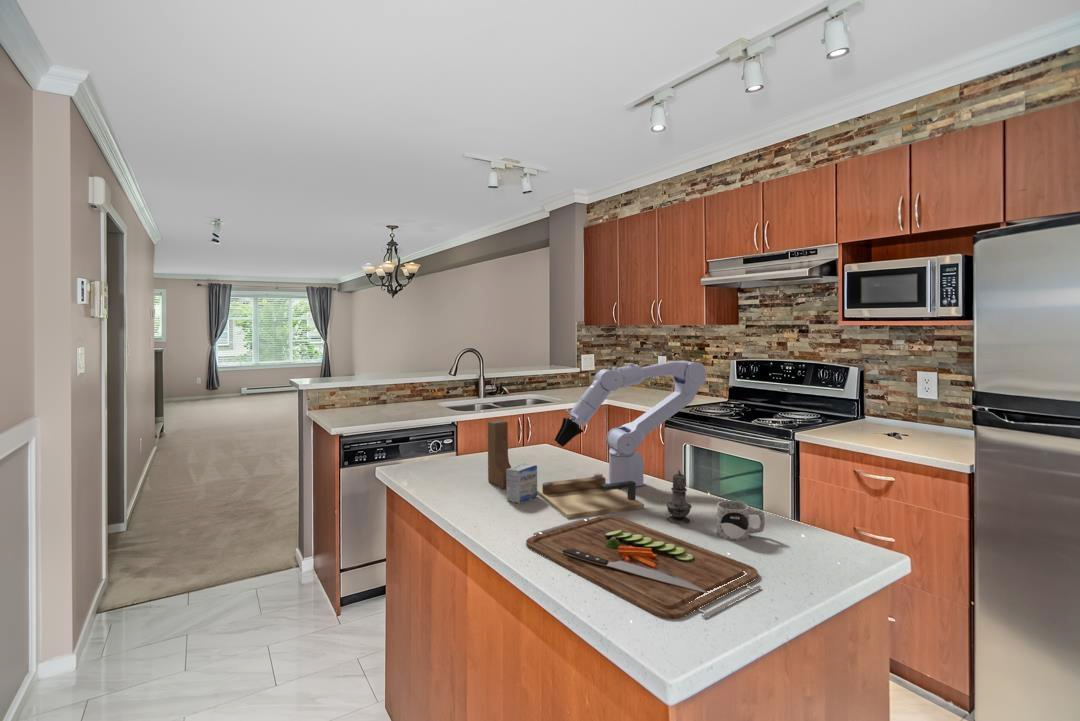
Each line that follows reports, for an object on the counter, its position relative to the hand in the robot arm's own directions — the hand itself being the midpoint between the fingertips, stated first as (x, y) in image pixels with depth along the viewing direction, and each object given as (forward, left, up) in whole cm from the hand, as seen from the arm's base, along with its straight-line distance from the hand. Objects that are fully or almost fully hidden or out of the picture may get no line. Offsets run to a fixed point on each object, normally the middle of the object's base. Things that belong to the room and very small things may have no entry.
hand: (558, 443), depth 157 cm
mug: (-24, +47, -13) cm, 54 cm away
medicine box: (+12, +5, -13) cm, 19 cm away
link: (-2, +6, -12) cm, 13 cm away
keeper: (-10, +19, -13) cm, 25 cm away
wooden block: (+13, -10, -13) cm, 21 cm away
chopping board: (+4, +49, -14) cm, 51 cm away
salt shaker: (-17, +34, -13) cm, 40 cm away
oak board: (-3, +13, -13) cm, 18 cm away
